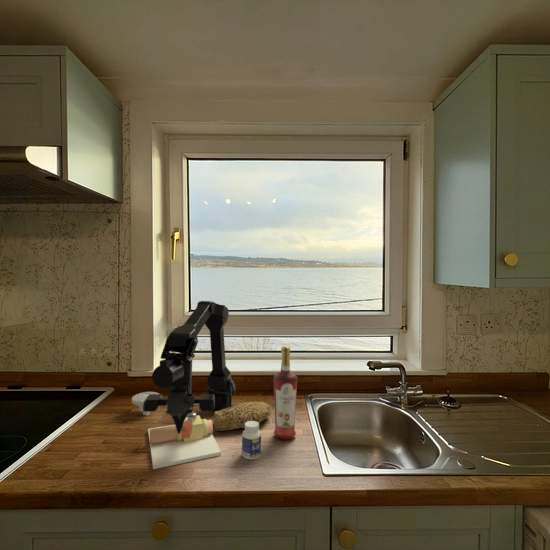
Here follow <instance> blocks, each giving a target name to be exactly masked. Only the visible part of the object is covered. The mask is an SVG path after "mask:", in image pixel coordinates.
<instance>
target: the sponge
mask: <svg viewBox="0 0 550 550" xmlns="http://www.w3.org/2000/svg"><path fill="white" fill-rule="evenodd" d="M272 409H273V407H272V405H270V404H268V403H266V402H264V401H246V402H240V403H239V404H236V405H233V407H232V406H231V408H230V407H228V408H225V409H222V410H220V411H216V412H214V411H213V420H212V421H213V428H214V430H215V431H217V432H224V431H231V430H235V429H236V430H238V429H245V423H246V422H248V421H256V422H258V423H259V424H260V423H261V422H263V421H264V420H266V419H267V418H269V417H270V416H271V415H272V411H273V410H272Z"/></svg>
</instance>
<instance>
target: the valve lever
mask: <svg viewBox="0 0 550 550" xmlns="http://www.w3.org/2000/svg"><path fill="white" fill-rule="evenodd" d="M196 416H197V412H196V411H192V413H190V414H188V415H187V416H186V417H187V422H186V423H184V426H183V429H182V438H190V436H191V433H192V429H193V421H194V420H195V419H196Z"/></svg>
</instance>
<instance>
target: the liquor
mask: <svg viewBox="0 0 550 550" xmlns="http://www.w3.org/2000/svg"><path fill="white" fill-rule="evenodd" d="M280 350H281V367H280V371H279V372H276V373H275V374H274V375H273V395H274V396H273V397H274V422H275V423H274V424H275V426H274V431H273V434H274V436H276V437H277V438H278V439H279V440H281V441H290V440H291V439H292V438H294V437H295V436H296V435H297V432H296V430H295V429H296V428H295V427H296V425H295V423H296V422H295V421H296V404H297V403H296V401H297V389H298V388H297V387H298V376H297V375H296V373H294V372H292V371H291V363H290V355H291V347H290V346H287V345H285V346H281V348H280Z"/></svg>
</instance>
